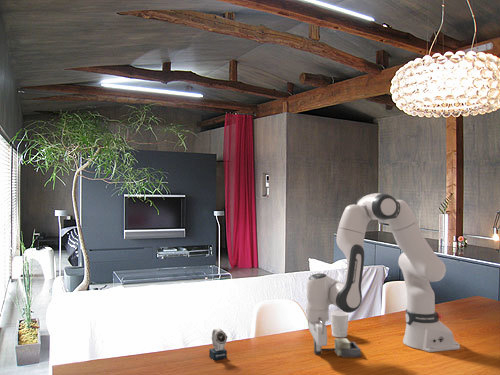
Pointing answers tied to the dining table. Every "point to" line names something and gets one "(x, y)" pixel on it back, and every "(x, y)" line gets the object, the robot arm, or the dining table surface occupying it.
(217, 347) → the watch
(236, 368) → the dining table surface
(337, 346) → the hammer
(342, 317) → the white cup
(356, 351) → the dark grey tray
